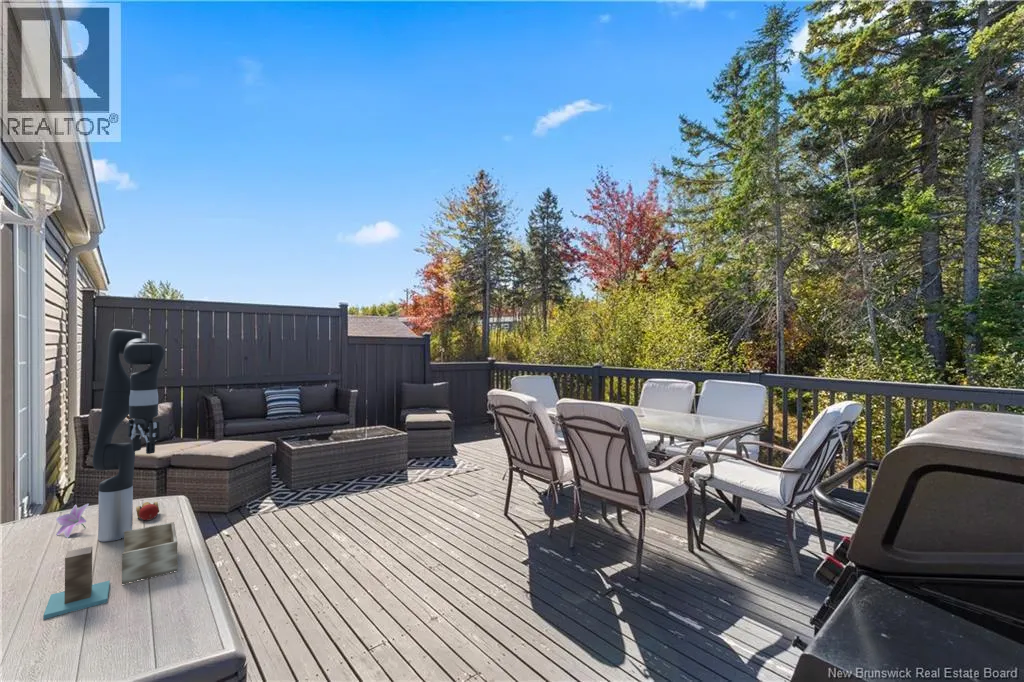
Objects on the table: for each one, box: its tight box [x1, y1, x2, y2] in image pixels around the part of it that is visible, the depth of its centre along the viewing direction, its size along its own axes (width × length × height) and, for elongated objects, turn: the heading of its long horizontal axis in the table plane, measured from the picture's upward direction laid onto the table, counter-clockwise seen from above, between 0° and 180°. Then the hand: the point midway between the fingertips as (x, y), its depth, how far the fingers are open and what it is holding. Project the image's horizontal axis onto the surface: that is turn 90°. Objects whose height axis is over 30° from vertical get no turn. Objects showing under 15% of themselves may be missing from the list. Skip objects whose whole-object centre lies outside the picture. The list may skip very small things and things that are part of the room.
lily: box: [55, 503, 90, 538], centre depth 166 cm, size 12×12×10 cm
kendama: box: [135, 501, 160, 521], centre depth 183 cm, size 8×6×18 cm
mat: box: [43, 580, 111, 620], centre depth 123 cm, size 12×12×1 cm
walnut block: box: [64, 545, 93, 604], centre depth 123 cm, size 5×5×12 cm
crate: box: [121, 521, 178, 585], centre depth 142 cm, size 13×20×9 cm, turn 39°
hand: (143, 452), depth 151 cm, fingers open, 8 cm apart
